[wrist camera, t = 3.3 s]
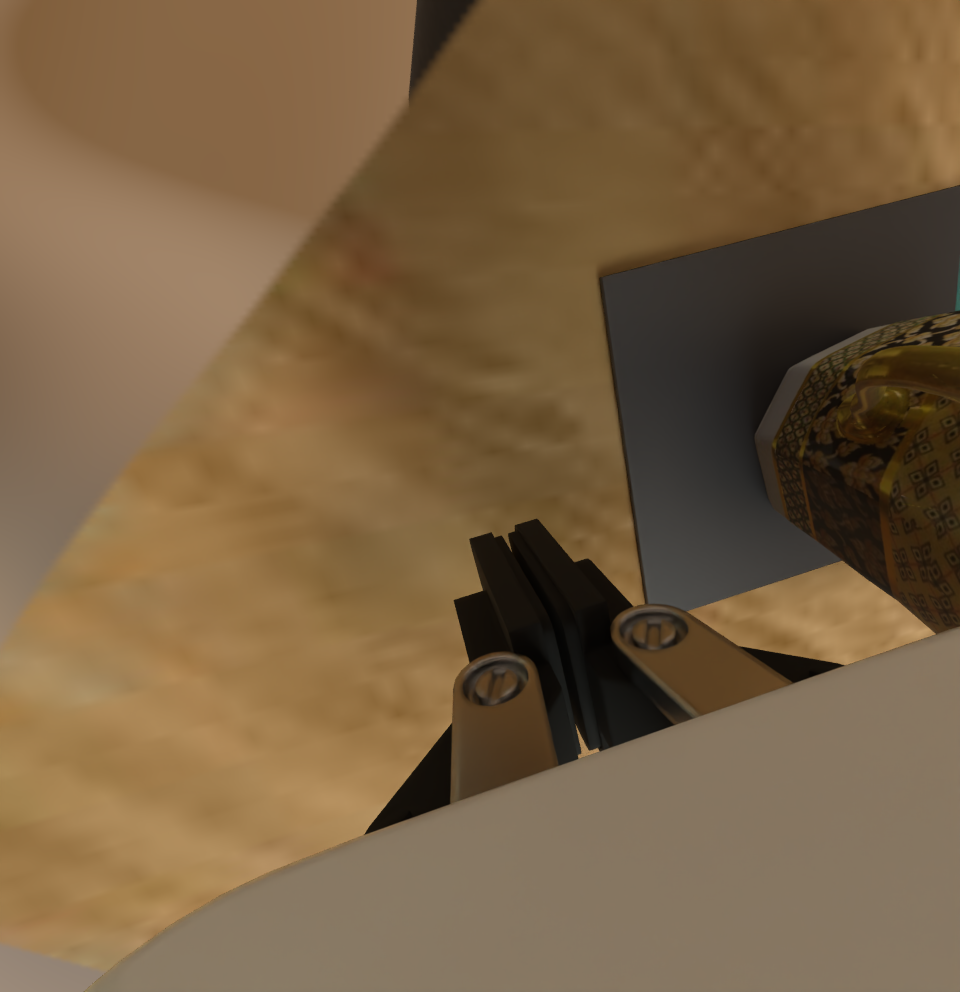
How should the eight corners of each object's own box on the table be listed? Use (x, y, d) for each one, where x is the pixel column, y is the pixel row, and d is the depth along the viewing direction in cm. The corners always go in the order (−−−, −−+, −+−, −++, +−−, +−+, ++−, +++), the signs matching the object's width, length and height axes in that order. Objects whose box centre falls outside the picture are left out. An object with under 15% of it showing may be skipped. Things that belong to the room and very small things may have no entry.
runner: (598, 277, 14) (601, 277, 14) (1273, 105, 16) (1284, 102, 16) (648, 620, 18) (650, 623, 18) (1183, 446, 20) (1190, 447, 20)
